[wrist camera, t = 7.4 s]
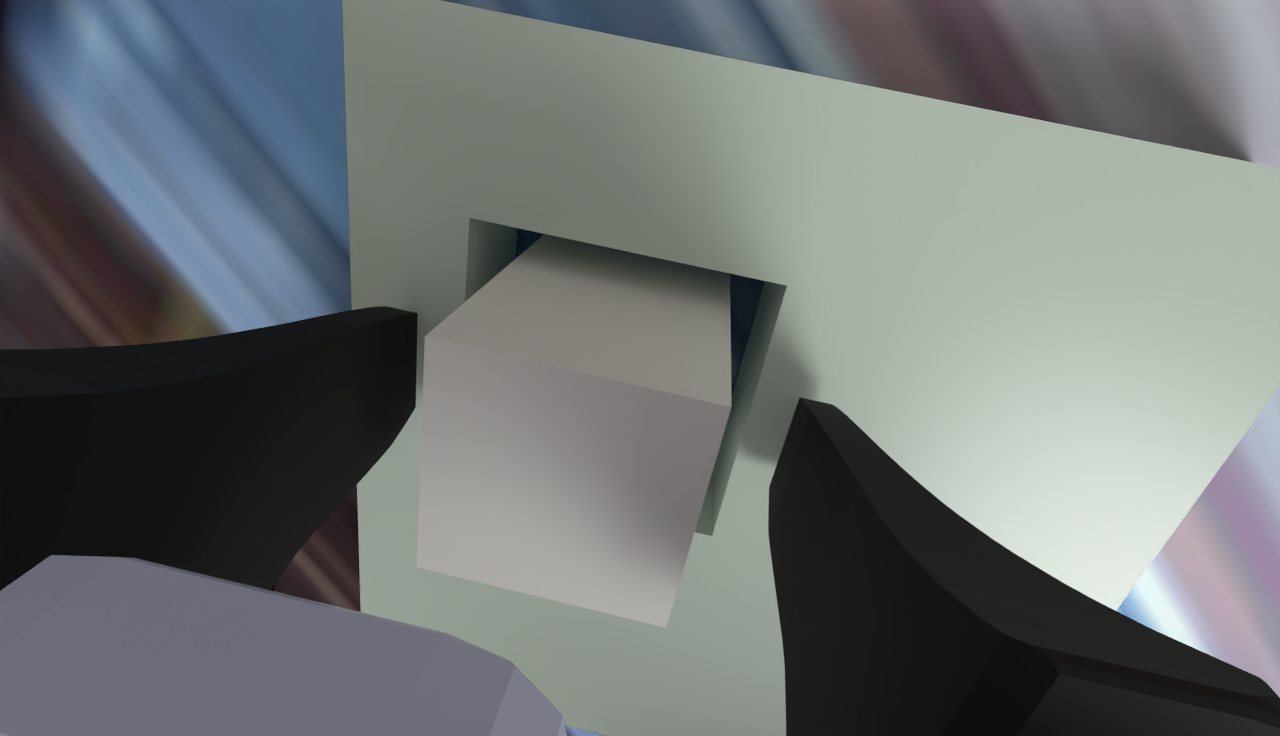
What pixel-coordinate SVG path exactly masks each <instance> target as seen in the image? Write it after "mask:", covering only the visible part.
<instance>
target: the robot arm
mask: <svg viewBox="0 0 1280 736" xmlns="http://www.w3.org/2000/svg"><path fill="white" fill-rule="evenodd" d="M417 320H418V313H415V312H410V311H406V310H401V309H397V308H392V307H388V306H379V307H368V308H361V309H355V310H350V311H345V312H339V313H334V314H329V315H325V316H320V317H315V318H310V319H305V320H300V321H296V322H291V323H286V324H281V325H275V326H270V327H264V328H258V329H253V330H247V331H242V332H236V333H230V334H225V335H219V336H212V337H205V338H197V339H190V340H181V341H172V342H162V343H152V344H141V345H128V346H107V347H87V348H67V349H10V350H0V736H567V735H566V730H565V725H564V720H563V716H562V715H561V713H560V712H559V711H558V710H557V709H556V707H555V706H554V705H553V704H552V703H551V702H550V701H549V700H548V699H547V698H546V697H545V696H544V695H543V693H542V692H541V691H540V690H539V689H538V688H537V687H536V686H535V685H534V684H533V683H532V682H531V681H530V680H529V679H528V678H527V677H526V676H525V675H524V674H523V673H522V672H521V671H520V670H519V669H518V668H517V667H516V666H515V665H514V664H513V663H512V662H511V661H510V660H507V659H505V658H503V657H500V656H498V655H496V654H494V653H491V652H489V651H487V650H484V649H482V648H480V647H478V646H475V645H473V644H471V643H468V642H466V641H464V640H462V639H459V638H457V637H455V636H452V635H450V634H448V633H445V632H441V631H436V630H432V629H428V628H424V627H420V626H416V625H411V624H407V623H403V622H399V621H395V620H391V619H386V618H382V617H378V616H374V615H370V614H366V613H362V612H357V611H353V610H349V609H345V608H341V607H337V606H332V605H328V604H324V603H320V602H316V601H312V600H307V599H303V598H299V597H295V596H291V595H287V594H283V593H278V592H274V591H270V589H271V588H272V586H273V585H274V584H275V582H276V581H277V579H278V578H279V577H280V575H281V574H282V573H283V571H284V570H285V568H286V567H287V566H288V564H289V563H290V561H291V560H292V559H293V557H294V556H295V555H296V553H297V552H298V551H299V549H300V548H301V547H302V546H303V545H304V543H305V542H306V541H307V540H308V538H309V537H310V536H311V535H312V534H313V532H314V531H315V530H316V529H317V528H318V527H319V526H320V525H321V523H322V522H323V521H324V520H325V519H326V518H327V517H328V516H329V515H330V514H331V512H332V511H333V510H334V509H335V508H336V507H337V506H338V505H339V504H340V503H341V501H342V500H343V499H344V498H345V497H346V496H347V495H348V494H349V493H350V492H351V490H352V489H353V488H354V487H355V486H356V485H357V484H358V483H359V482H360V481H361V479H362V478H363V477H364V476H365V475H366V474H367V473H368V472H369V470H370V469H371V468H372V467H373V466H374V465H375V464H376V463H377V461H378V460H379V459H380V458H381V457H382V456H383V455H384V453H385V452H386V451H387V450H388V449H389V448H390V446H391V445H392V444H393V442H394V441H395V439H396V438H397V436H398V435H399V433H400V432H401V430H402V429H403V427H404V426H405V424H406V422H407V421H408V419H409V417H410V416H411V414H412V413H413V411H414V409H415V408H416V369H417ZM768 535H769V543H770V551H771V559H772V567H773V575H774V582H775V589H776V597H777V604H778V612H779V619H780V626H781V634H782V641H783V653H784V664H785V699H786V736H1280V698H1279V697H1278V696H1277V694H1276V693H1275V692H1274V691H1273V690H1272V689H1271V688H1270V687H1269V686H1268V684H1267V683H1265V682H1264V681H1263V680H1262V679H1260V678H1259V677H1257V676H1255V675H1252V674H1250V673H1248V672H1246V671H1243V670H1241V669H1239V668H1237V667H1235V666H1232V665H1230V664H1228V663H1226V662H1223V661H1221V660H1219V659H1217V658H1214V657H1212V656H1210V655H1208V654H1206V653H1203V652H1201V651H1199V650H1197V649H1194V648H1192V647H1190V646H1188V645H1186V644H1183V643H1181V642H1179V641H1177V640H1174V639H1172V638H1170V637H1168V636H1166V635H1163V634H1161V633H1159V632H1157V631H1155V630H1153V629H1150V628H1148V627H1146V626H1144V625H1142V624H1140V623H1138V622H1136V621H1134V620H1133V619H1131V618H1129V617H1127V616H1125V615H1123V614H1121V613H1119V612H1117V611H1115V610H1113V609H1111V608H1109V607H1107V606H1105V605H1103V604H1101V603H1099V602H1098V601H1096V600H1094V599H1092V598H1090V597H1088V596H1086V595H1085V594H1083V593H1081V592H1079V591H1077V590H1075V589H1074V588H1072V587H1070V586H1068V585H1066V584H1065V583H1063V582H1061V581H1059V580H1058V579H1056V578H1054V577H1053V576H1051V575H1049V574H1048V573H1046V572H1044V571H1043V570H1041V569H1039V568H1038V567H1036V566H1034V565H1033V564H1031V563H1029V562H1028V561H1026V560H1025V559H1023V558H1021V557H1020V556H1018V555H1016V554H1015V553H1013V552H1012V551H1010V550H1009V549H1007V548H1005V547H1004V546H1002V545H1001V544H999V543H998V542H996V541H995V540H993V539H992V538H990V537H989V536H988V535H986V534H985V533H983V532H982V531H981V530H979V529H978V528H976V527H975V526H974V525H972V524H971V523H969V522H968V521H967V520H965V519H964V518H962V517H961V516H960V515H958V514H957V513H956V512H954V511H953V510H952V509H950V508H949V507H948V506H947V505H945V504H944V503H943V502H941V501H940V500H939V499H938V498H937V497H935V496H934V495H933V494H932V493H931V492H929V491H928V490H927V489H926V488H925V487H923V486H922V485H921V484H920V483H919V482H918V481H916V480H915V479H914V478H913V477H912V476H911V475H909V474H908V473H907V472H906V471H905V470H904V469H903V468H902V467H901V466H899V465H898V464H897V463H896V462H895V461H894V460H893V459H892V458H891V457H890V456H889V455H888V454H887V453H885V452H884V451H883V450H882V449H881V448H880V447H879V446H878V445H877V444H876V443H875V442H874V441H873V440H872V439H871V438H870V437H869V436H868V435H867V434H866V433H865V432H864V431H863V430H862V429H861V428H859V427H858V426H857V425H856V424H855V423H854V422H853V421H852V420H851V419H850V418H849V417H848V416H847V415H846V414H844V413H843V412H842V411H841V410H840V409H839V408H837V407H836V406H834V405H833V404H828V403H824V402H819V401H815V400H810V399H805V398H801V397H800V398H799V400H798V403H797V406H796V409H795V412H794V415H793V418H792V421H791V424H790V427H789V430H788V433H787V436H786V439H785V442H784V445H783V448H782V451H781V454H780V457H779V460H778V463H777V466H776V469H775V472H774V474H773V477H772V480H771V483H770V486H769V509H768Z"/></svg>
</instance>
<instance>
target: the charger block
mask: <svg viewBox="0 0 1280 736" xmlns="http://www.w3.org/2000/svg"><path fill="white" fill-rule="evenodd" d="M731 407H732V398H731V317H730V273H725V272H721V271H716V270H711V269H707V268H702V267H697V266H693V265H688V264H683V263H679V262H674V261H669V260H665V259H660V258H655V257H650V256H646V255H641V254H636V253H632V252H627V251H622V250H618V249H613V248H608V247H604V246H599V245H594V244H590V243H585V242H580V241H575V240H571V239H566V238H561V237H557V236H552V235H547V234H544V235H543V236H542V237H541V238H539V239H538V240H537V241H536V242H535V243H534V244H532V245H531V246H530V247H529V248H528V249H527V250H525V251H524V252H523V253H522V254H521V255H520V256H518V257H517V258H516V259H515V260H514V261H512V262H511V263H510V264H509V265H508V266H507V267H505V268H504V269H503V270H502V271H501V272H500V273H498V274H497V275H496V276H495V277H494V278H493V279H491V280H490V281H489V282H488V283H487V284H486V285H484V286H483V287H482V288H481V289H480V290H479V291H477V292H476V293H475V294H474V295H473V296H472V297H470V298H469V299H468V300H467V301H466V302H464V303H463V304H462V305H461V306H460V307H459V308H457V309H456V310H455V311H454V312H453V313H452V314H450V315H449V316H448V317H447V318H446V319H445V320H443V321H442V322H441V323H440V324H439V325H438V326H436V327H435V328H434V329H433V330H432V331H431V332H429V333H428V334H427V335H426V336H425V347H424V374H423V401H422V428H421V455H420V482H419V509H418V536H417V563H416V567H418V568H422V569H426V570H430V571H434V572H439V573H443V574H447V575H451V576H455V577H459V578H463V579H467V580H471V581H476V582H480V583H484V584H488V585H492V586H496V587H500V588H504V589H508V590H513V591H517V592H521V593H525V594H529V595H533V596H537V597H541V598H545V599H550V600H554V601H558V602H562V603H566V604H570V605H574V606H578V607H582V608H586V609H591V610H595V611H599V612H603V613H607V614H611V615H615V616H619V617H623V618H628V619H632V620H636V621H640V622H644V623H648V624H652V625H656V626H660V627H665V628H666V627H667V624H668V620H669V617H670V613H671V610H672V607H673V603H674V600H675V597H676V593H677V590H678V586H679V583H680V580H681V576H682V573H683V569H684V566H685V563H686V559H687V556H688V553H689V549H690V546H691V542H692V539H693V536H694V532H695V529H696V526H697V522H698V519H699V515H700V512H701V509H702V505H703V502H704V499H705V495H706V492H707V488H708V485H709V482H710V478H711V475H712V472H713V468H714V465H715V461H716V458H717V455H718V451H719V448H720V444H721V441H722V438H723V434H724V431H725V428H726V424H727V421H728V417H729V414H730V411H731Z"/></svg>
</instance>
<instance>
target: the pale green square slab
mask: <svg viewBox="0 0 1280 736" xmlns="http://www.w3.org/2000/svg"><path fill="white" fill-rule="evenodd" d="M342 8H343V41H344V74H345V107H346V140H347V173H348V206H349V239H350V272H351V305H352V310H355V309H361V308H368V307H379V306H388V307H392V308H397V309H401V310H406V311H410V312H415V313H418V320H417V369H416V408H415V409H414V411H413V413H412V414H411V416H410V417H409V419H408V421H407V422H406V424H405V426H404V427H403V429H402V430H401V432H400V433H399V435H398V436H397V438H396V439H395V441H394V442H393V444H392V445H391V446H390V448H389V449H388V450H387V451H386V452H385V453H384V455H383V456H382V457H381V458H380V459H379V460H378V461H377V463H376V464H375V465H374V466H373V467H372V468H371V469H370V470H369V472H368V473H367V474H366V475H365V476H364V477H363V478H362V479H361V481H360V482H359V483H358V484H357V503H358V536H359V569H360V602H361V612H362V613H366V614H370V615H374V616H378V617H382V618H386V619H391V620H395V621H399V622H403V623H407V624H411V625H416V626H420V627H424V628H428V629H432V630H436V631H441V632H445V633H448V634H450V635H452V636H455V637H457V638H459V639H462V640H464V641H466V642H468V643H471V644H473V645H475V646H478V647H480V648H482V649H484V650H487V651H489V652H491V653H494V654H496V655H498V656H500V657H503V658H505V659H507V660H510V661H511V662H512V663H513V664H514V665H515V666H516V667H517V668H518V669H519V670H520V671H521V672H522V673H523V674H524V675H525V676H526V677H527V678H528V679H529V680H530V681H531V682H532V683H533V684H534V685H535V686H536V687H537V688H538V689H539V690H540V691H541V692H542V693H543V695H544V696H545V697H546V698H547V699H548V700H549V701H550V702H551V703H552V704H553V705H554V706H555V707H556V709H557V710H558V711H559V712H560V713H561V715H562V716H563V720H564V725H565V726H569V727H573V728H577V729H581V730H585V731H589V732H593V733H597V734H601V735H606V736H786V699H785V664H784V653H783V641H782V634H781V626H780V619H779V612H778V604H777V597H776V589H775V582H774V575H773V567H772V559H771V551H770V543H769V535H768V509H769V486H770V483H771V480H772V477H773V474H774V472H775V469H776V466H777V463H778V460H779V457H780V454H781V451H782V448H783V445H784V442H785V439H786V436H787V433H788V430H789V427H790V424H791V421H792V418H793V415H794V412H795V409H796V406H797V403H798V400H799V398H800V397H801V398H805V399H810V400H815V401H819V402H824V403H828V404H833V405H834V406H836V407H837V408H839V409H840V410H841V411H842V412H843V413H844V414H846V415H847V416H848V417H849V418H850V419H851V420H852V421H853V422H854V423H855V424H856V425H857V426H858V427H859V428H861V429H862V430H863V431H864V432H865V433H866V434H867V435H868V436H869V437H870V438H871V439H872V440H873V441H874V442H875V443H876V444H877V445H878V446H879V447H880V448H881V449H882V450H883V451H884V452H885V453H887V454H888V455H889V456H890V457H891V458H892V459H893V460H894V461H895V462H896V463H897V464H898V465H899V466H901V467H902V468H903V469H904V470H905V471H906V472H907V473H908V474H909V475H911V476H912V477H913V478H914V479H915V480H916V481H918V482H919V483H920V484H921V485H922V486H923V487H925V488H926V489H927V490H928V491H929V492H931V493H932V494H933V495H934V496H935V497H937V498H938V499H939V500H940V501H941V502H943V503H944V504H945V505H947V506H948V507H949V508H950V509H952V510H953V511H954V512H956V513H957V514H958V515H960V516H961V517H962V518H964V519H965V520H967V521H968V522H969V523H971V524H972V525H974V526H975V527H976V528H978V529H979V530H981V531H982V532H983V533H985V534H986V535H988V536H989V537H990V538H992V539H993V540H995V541H996V542H998V543H999V544H1001V545H1002V546H1004V547H1005V548H1007V549H1009V550H1010V551H1012V552H1013V553H1015V554H1016V555H1018V556H1020V557H1021V558H1023V559H1025V560H1026V561H1028V562H1029V563H1031V564H1033V565H1034V566H1036V567H1038V568H1039V569H1041V570H1043V571H1044V572H1046V573H1048V574H1049V575H1051V576H1053V577H1054V578H1056V579H1058V580H1059V581H1061V582H1063V583H1065V584H1066V585H1068V586H1070V587H1072V588H1074V589H1075V590H1077V591H1079V592H1081V593H1083V594H1085V595H1086V596H1088V597H1090V598H1092V599H1094V600H1096V601H1098V602H1099V603H1101V604H1103V605H1105V606H1107V607H1109V608H1111V609H1113V610H1115V611H1116V610H1117V609H1118V607H1119V606H1120V605H1121V603H1122V602H1123V600H1124V599H1125V598H1126V596H1127V595H1128V594H1129V592H1130V591H1131V589H1132V588H1133V587H1134V585H1135V584H1136V583H1137V581H1138V580H1139V578H1140V577H1141V576H1142V574H1143V573H1144V572H1145V570H1146V569H1147V567H1148V566H1149V565H1150V563H1151V562H1152V561H1153V559H1154V558H1155V556H1156V555H1157V554H1158V552H1159V551H1160V550H1161V548H1162V547H1163V545H1164V544H1165V543H1166V541H1167V540H1168V539H1169V537H1170V536H1171V535H1172V533H1173V532H1174V530H1175V529H1176V528H1177V526H1178V525H1179V524H1180V522H1181V521H1182V519H1183V518H1184V517H1185V515H1186V514H1187V513H1188V511H1189V510H1190V508H1191V507H1192V506H1193V504H1194V503H1195V502H1196V500H1197V499H1198V497H1199V496H1200V495H1201V493H1202V492H1203V491H1204V489H1205V488H1206V486H1207V485H1208V484H1209V482H1210V481H1211V480H1212V478H1213V477H1214V475H1215V474H1216V473H1217V471H1218V470H1219V469H1220V467H1221V466H1222V464H1223V463H1224V462H1225V460H1226V459H1227V458H1228V456H1229V455H1230V453H1231V452H1232V451H1233V449H1234V448H1235V447H1236V445H1237V444H1238V442H1239V441H1240V440H1241V438H1242V437H1243V436H1244V434H1245V433H1246V432H1247V430H1248V429H1249V427H1250V426H1251V425H1252V423H1253V422H1254V421H1255V419H1256V418H1257V416H1258V415H1259V414H1260V412H1261V411H1262V410H1263V408H1264V407H1265V405H1266V404H1267V403H1268V401H1269V400H1270V399H1271V397H1272V396H1273V394H1274V393H1275V392H1276V390H1277V389H1278V388H1279V386H1280V168H1278V167H1273V166H1268V165H1263V164H1258V163H1253V162H1248V161H1243V160H1238V159H1233V158H1228V157H1223V156H1218V155H1213V154H1208V153H1203V152H1198V151H1193V150H1188V149H1183V148H1178V147H1173V146H1168V145H1163V144H1158V143H1153V142H1148V141H1143V140H1138V139H1133V138H1128V137H1123V136H1118V135H1113V134H1108V133H1103V132H1098V131H1093V130H1088V129H1083V128H1078V127H1073V126H1068V125H1063V124H1058V123H1053V122H1048V121H1043V120H1038V119H1033V118H1028V117H1023V116H1018V115H1013V114H1008V113H1003V112H998V111H993V110H988V109H983V108H978V107H973V106H968V105H963V104H958V103H953V102H948V101H943V100H938V99H933V98H928V97H923V96H918V95H913V94H908V93H903V92H898V91H893V90H888V89H883V88H878V87H873V86H868V85H863V84H858V83H853V82H848V81H843V80H838V79H833V78H828V77H823V76H818V75H813V74H808V73H803V72H798V71H793V70H788V69H783V68H778V67H773V66H767V65H762V64H757V63H752V62H747V61H742V60H737V59H732V58H727V57H722V56H717V55H712V54H707V53H702V52H697V51H692V50H687V49H682V48H677V47H672V46H667V45H662V44H657V43H652V42H647V41H642V40H637V39H632V38H627V37H622V36H617V35H612V34H607V33H602V32H597V31H592V30H587V29H582V28H577V27H572V26H567V25H562V24H557V23H552V22H547V21H542V20H537V19H532V18H527V17H522V16H517V15H512V14H507V13H502V12H497V11H492V10H487V9H482V8H477V7H472V6H467V5H462V4H457V3H452V2H447V1H442V0H342ZM518 228H519V229H524V230H529V231H533V232H538V233H543V234H547V235H552V236H557V237H561V238H566V239H571V240H575V241H580V242H585V243H590V244H594V245H599V246H604V247H608V248H613V249H618V250H622V251H627V252H632V253H636V254H641V255H646V256H650V257H655V258H660V259H665V260H669V261H674V262H679V263H683V264H688V265H693V266H697V267H702V268H707V269H711V270H716V271H721V272H725V273H730V274H735V275H739V276H744V277H749V278H754V279H758V280H763V281H764V285H763V288H762V292H761V295H760V299H759V302H758V306H757V310H756V313H755V317H754V320H753V324H752V327H751V331H750V334H749V338H748V341H747V345H746V349H745V352H744V356H743V359H742V363H741V366H740V370H739V373H738V377H737V380H736V384H735V388H734V391H733V395H732V407H731V411H730V414H729V417H728V421H727V424H726V428H725V431H724V434H723V438H722V441H721V444H720V448H719V451H718V455H717V458H716V461H715V465H714V468H713V472H712V475H711V478H710V482H709V485H708V488H707V492H706V495H705V499H704V502H703V505H702V509H701V512H700V515H699V519H698V522H697V526H696V529H695V532H694V536H693V539H692V542H691V546H690V549H689V553H688V556H687V559H686V563H685V566H684V569H683V573H682V576H681V580H680V583H679V586H678V590H677V593H676V597H675V600H674V603H673V607H672V610H671V613H670V617H669V620H668V624H667V627H666V628H665V627H660V626H656V625H652V624H648V623H644V622H640V621H636V620H632V619H628V618H623V617H619V616H615V615H611V614H607V613H603V612H599V611H595V610H591V609H586V608H582V607H578V606H574V605H570V604H566V603H562V602H558V601H554V600H550V599H545V598H541V597H537V596H533V595H529V594H525V593H521V592H517V591H513V590H508V589H504V588H500V587H496V586H492V585H488V584H484V583H480V582H476V581H471V580H467V579H463V578H459V577H455V576H451V575H447V574H443V573H439V572H434V571H430V570H426V569H422V568H418V567H416V563H417V536H418V509H419V482H420V455H421V428H422V401H423V374H424V347H425V336H426V335H427V334H428V333H429V332H431V331H432V330H433V329H434V328H435V327H436V326H438V325H439V324H440V323H441V322H442V321H443V320H445V319H446V318H447V317H448V316H449V315H450V314H452V313H453V312H454V311H455V310H456V309H457V308H459V307H460V306H461V305H462V304H463V303H464V302H466V301H467V300H468V299H469V298H470V297H472V296H473V295H474V294H475V293H476V292H477V291H479V290H480V289H481V288H482V287H483V286H484V285H486V284H487V283H488V282H489V281H490V280H491V279H493V278H494V277H495V276H496V275H497V274H498V273H500V272H501V271H502V270H503V269H504V268H505V267H507V266H508V265H509V264H510V263H511V262H512V261H514V260H515V254H516V243H517V233H518Z"/></svg>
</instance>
